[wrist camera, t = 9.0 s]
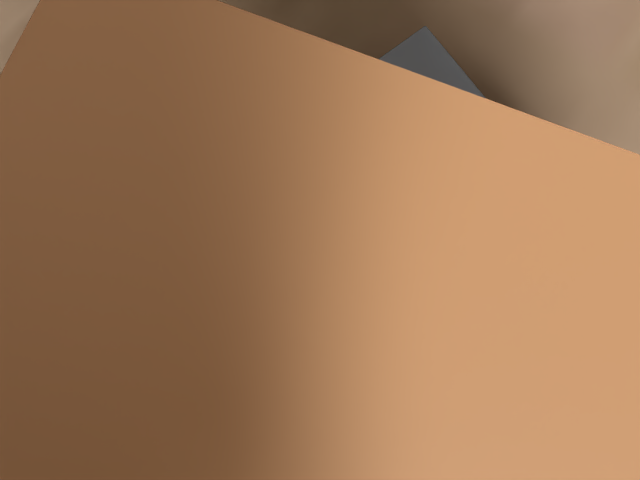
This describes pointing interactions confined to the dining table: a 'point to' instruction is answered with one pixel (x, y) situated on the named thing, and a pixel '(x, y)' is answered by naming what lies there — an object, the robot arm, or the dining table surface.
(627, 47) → the dining table surface
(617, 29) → the dining table surface
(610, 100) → the dining table surface
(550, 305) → the orange carton
